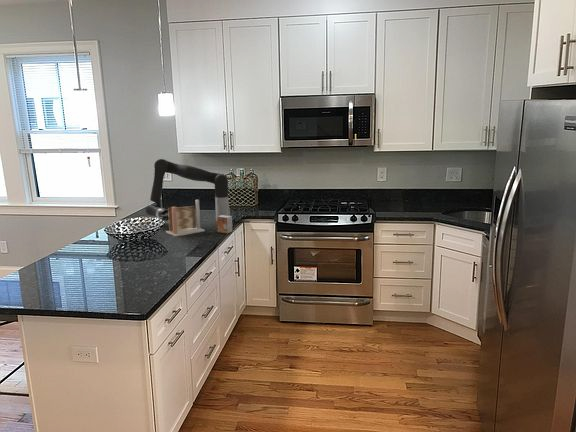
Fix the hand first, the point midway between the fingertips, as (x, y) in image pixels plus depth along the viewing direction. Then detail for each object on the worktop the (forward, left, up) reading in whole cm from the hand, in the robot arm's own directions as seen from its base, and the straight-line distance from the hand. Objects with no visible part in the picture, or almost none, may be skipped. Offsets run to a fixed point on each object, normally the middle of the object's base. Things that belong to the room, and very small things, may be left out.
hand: (174, 218), depth 290 cm
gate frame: (-5, +3, -9) cm, 11 cm away
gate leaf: (-4, +2, -7) cm, 9 cm away
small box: (-24, +20, -9) cm, 33 cm away
